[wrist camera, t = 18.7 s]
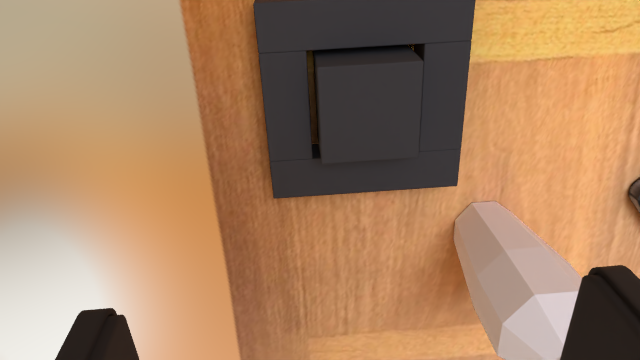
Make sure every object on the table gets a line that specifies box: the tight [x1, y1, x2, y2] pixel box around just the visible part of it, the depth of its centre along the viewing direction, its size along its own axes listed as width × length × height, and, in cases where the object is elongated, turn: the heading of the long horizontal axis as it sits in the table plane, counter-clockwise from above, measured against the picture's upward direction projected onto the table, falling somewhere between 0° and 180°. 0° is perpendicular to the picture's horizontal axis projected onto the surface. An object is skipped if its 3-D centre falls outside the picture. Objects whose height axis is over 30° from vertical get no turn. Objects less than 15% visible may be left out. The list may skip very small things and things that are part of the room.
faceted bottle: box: [453, 201, 582, 360], centre depth 28 cm, size 6×6×22 cm
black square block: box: [313, 45, 424, 164], centre depth 30 cm, size 6×6×4 cm
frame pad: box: [253, 0, 475, 198], centre depth 31 cm, size 13×13×2 cm
